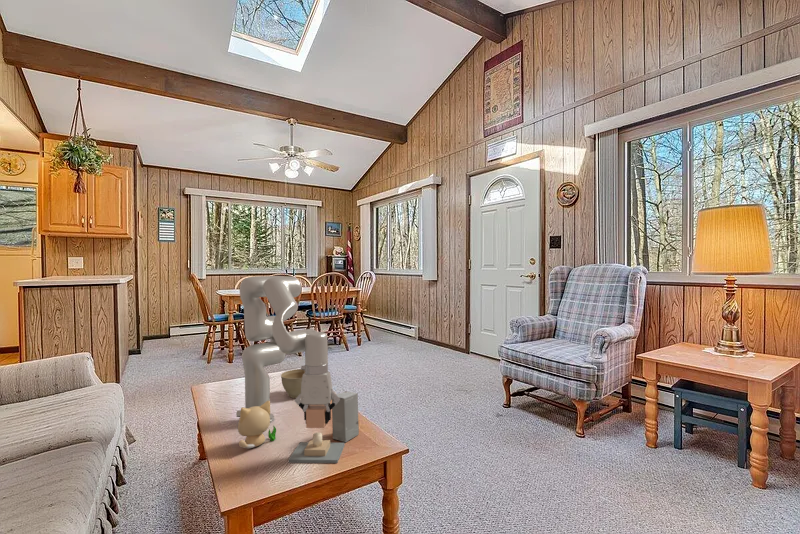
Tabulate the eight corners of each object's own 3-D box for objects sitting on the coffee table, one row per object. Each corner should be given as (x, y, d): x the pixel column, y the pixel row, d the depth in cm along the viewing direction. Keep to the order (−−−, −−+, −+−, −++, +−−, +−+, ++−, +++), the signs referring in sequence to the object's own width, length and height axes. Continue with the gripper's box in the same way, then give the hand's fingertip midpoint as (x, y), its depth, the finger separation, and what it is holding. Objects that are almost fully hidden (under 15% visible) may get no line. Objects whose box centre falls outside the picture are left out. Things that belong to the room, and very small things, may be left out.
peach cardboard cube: (306, 427, 125) (305, 409, 125) (311, 420, 131) (311, 403, 131) (324, 427, 125) (323, 409, 125) (328, 420, 131) (328, 403, 131)
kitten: (270, 433, 144) (269, 394, 144) (282, 442, 137) (281, 401, 137) (229, 446, 134) (229, 404, 134) (240, 457, 127) (239, 412, 127)
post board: (288, 462, 123) (288, 442, 123) (300, 444, 135) (299, 426, 135) (337, 463, 122) (337, 443, 122) (344, 445, 134) (344, 427, 134)
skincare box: (345, 443, 136) (345, 399, 136) (330, 438, 139) (330, 395, 139) (360, 434, 143) (359, 392, 143) (345, 430, 147) (345, 389, 147)
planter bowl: (279, 392, 191) (278, 371, 191) (311, 388, 198) (311, 367, 198) (283, 403, 176) (283, 379, 176) (318, 397, 183) (317, 375, 183)
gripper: (287, 372, 125) (288, 426, 125) (339, 372, 124) (340, 427, 124) (295, 366, 133) (296, 417, 132) (344, 366, 132) (345, 417, 132)
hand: (317, 421), depth 128 cm, fingers closed on peach cardboard cube, 6 cm apart
